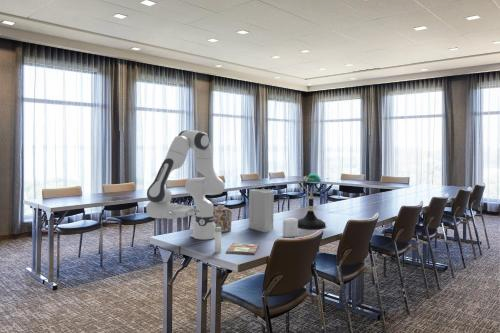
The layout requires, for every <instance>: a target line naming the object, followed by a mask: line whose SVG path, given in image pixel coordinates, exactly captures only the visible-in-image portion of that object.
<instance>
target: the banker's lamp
mask: <svg viewBox="0 0 500 333" xmlns="http://www.w3.org/2000/svg"><path fill="white" fill-rule="evenodd" d="M305 180H306V182H307V183H322V178H321V177H320V175H318V173H316V172H311V173H309V175H305V176H304V177H303V179H302V180H301V181H300V185H301V187H303V188H304V189H305V190H306V191H307V192H308V194H309V196H308V209H307V212H306V214H305V215H304V217H302V218H299V219H297V220H298V229H303V230H304V229H305V230H322V228H323V229H325V228H326V221H323V220H322V219H319V218H318V217H317V216H316V215H315V212H314V209H313V208H314V196H313V193H312V192H310V191H309V190H308V189H307V187H305V186H304V185H303V182H304V181H305Z"/></svg>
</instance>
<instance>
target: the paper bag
mask: <svg viewBox="0 0 500 333" xmlns="http://www.w3.org/2000/svg"><path fill="white" fill-rule="evenodd" d="M248 190H249V194H248V195H249V196H248V198H249V199H248V201H249V202H248V203H249V204H248V228H249V229H253V230H254V231H255V230H256V231H260V232H262V233H270V232H271V231H272V230H273V229H274V213H275V212H274V211H275V208H274V207H275V206H274V205H275V203H274V202H275V197H274V196H275V189H256V188H255V189H253V188H252V189H248Z"/></svg>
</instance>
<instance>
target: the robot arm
mask: <svg viewBox="0 0 500 333" xmlns="http://www.w3.org/2000/svg"><path fill="white" fill-rule="evenodd" d="M190 149H192V150H193V149H194V159H195V160H194V164H195V170H196V171H197V172H198V173H200V174H202V176H204V177H192V178H188V179H187V180H186V182H185V184H184V187H185V190H186V192H187V193H188V194H189V195H190V196H191V197H192V199H193V200H194V203H195V206H192V205H186V204H184V205H183V204H181V203H174V202H171V201H172V197H173V196H172V192H171V190H170V189H169V188H168V187H167V188H166V187H165V186H166V183H167V181H168V179H169V177H170V175H171V172H173V171H174V170H178V169H180V168H182V167H183V166H184V163H185V161H186V159H187V155H188V152H189V150H190ZM213 160H214V159H213V150H212V144H211V141H210V137H209V135H208V133H206V132H204V131H200V130H182V131H180V132H179V134H178V135H177V136H175V137H174V138H173V140H172V141H171V144H170V146H169V148H168V150H167V153H166V156H165V158H164V160H163V162H162V163H161V165H160V167H159V169H158V172H157V173H156V176H155V178H154V180H153V182H152V183H151V184H150V186H148V188H147V189H146V197H147V199H148V200H149V202H148V203H147V204H146V207H145V210H146V211H145V212H146V214H147V216H148V217H150V218H154V219H167V220H168V219H169V220H178V218H180V219H181V218H182V219H183V218H186V217H189V216H195V217H194V218H195V222H194V223H193V225H192V234H190V237H192V238H194V239H196V240H212V239H215V227H216V224H215V222H214V215H213V208H214V203H213V202H212V201H210V200H208V198H207V197H206V196H207V195H209V196H216V195H221V194H223V192H224V191H225V182H224V180H222V179H221V178H220V177H219V176H218V175H217V173H216V172H215V168H214V162H213Z"/></svg>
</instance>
